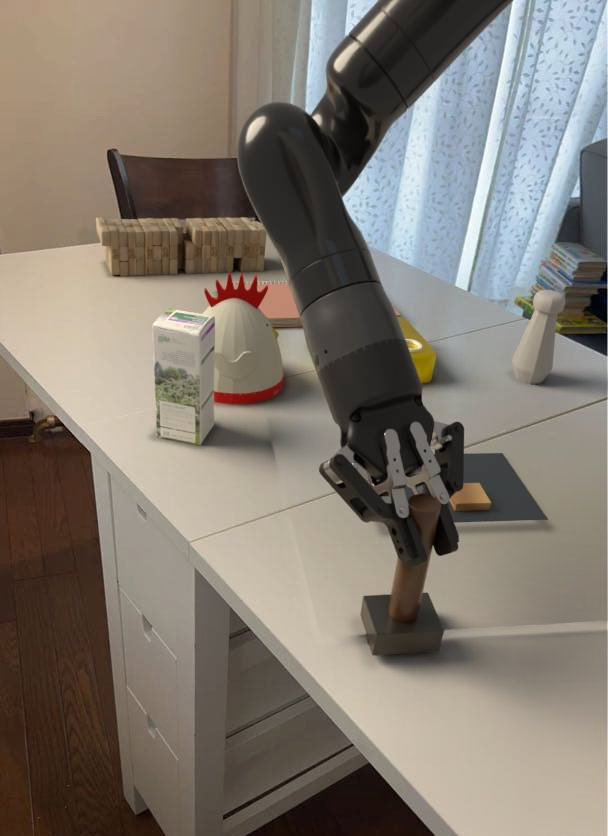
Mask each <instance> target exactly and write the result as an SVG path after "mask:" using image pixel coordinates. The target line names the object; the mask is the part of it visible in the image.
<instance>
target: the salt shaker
mask: <svg viewBox="0 0 608 836" xmlns="http://www.w3.org/2000/svg"><path fill="white" fill-rule="evenodd" d="M532 306H533V309H534V312H533V314H532V316H531V317H530V320H529V322H528V324H527V327H526V329H525V331H524V333H523V335H522V337H521V339H520V342H519V344H518V345H517V348H516V350H515V353H514V354H513V357H512V359H511V360H512V361H511V364H512V368H513V369H512V370H513V375H514V376H515V378H516V379H517V381H520V382H523V383H526V384H529V385H533V384H542V382H544V380H545V379H546V377H547V376H549V374H550V373H551V372H552V370H553V367H554V354H555V343H556V342H555V341H556V329H557V322H558V321H557V319H558V314H561V313H562V312H563V310H564V309H565V306H566V297H565V295H564V293H562V292H559V291H556V290H553V289H541V290H539V291H538V292H536V293H535V294H534V297H533V300H532Z"/></svg>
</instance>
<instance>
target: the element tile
mask: <svg viewBox="0 0 608 836" xmlns="http://www.w3.org/2000/svg"><path fill="white" fill-rule="evenodd" d="M397 318H398V320H399V323H400V326H401V329H402V331H403V334H404V337H405V340H406V342H407V345H408V348H409V351H410V354H411V356H412V359H413V362H414V365H415V367H416V370H417V373H418V376H419V378H420V381H421V384H422V385H423V384H427V383H430V382H431V381H432V380H433V376H434V370H435V364H436V360H437V359H436V358H437V351H436V350H435V349H434V348H433V347H432V346H431V344H430V343H429V342H428V341H427V340H426V339H425V338H424V336H423V335H421V333H420V332H419V331H418V330H417V328H416V327H415V326H414V325H413V324H412V323H411V322H410V321H409V320H408V319H406V318H405V317H402V316H398V317H397Z"/></svg>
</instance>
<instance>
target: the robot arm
mask: <svg viewBox="0 0 608 836" xmlns="http://www.w3.org/2000/svg"><path fill="white" fill-rule="evenodd" d="M514 1H515V0H377V1H376V2H375V3H374V5H373V6H372V7H371V8H370V9H369V10H368V11H367V12H366V14H364V15H363V17H362V18H361V19H360V20H359V21H358V22H357V23H356V24H355V25H354V27H353V28H352V29H351V30H350V31H349V32H348V35H346V36H345V37H344V38H343V39H342V40H341V41H340V42H339V44H338V45H337V46H336V47H335V49H333V51H332V52H331V54H330V55H329V58H328V59H327V61H326V65H325V78H326V79H325V80H326V87H325V91H324V94H323V96H322V98H321V99H320V100H319V102H318V103H317V105H316V106H315V107H314V109H313V111H312V112H311V113H308V111H306V110H305V109H304V108H301V107H300V106H297V105H296V104H293V103H291V102H284V101H274V102H268V103H264V104H263V105H261V106H259V107H258V108H256V109H255V110H253V112H251V114H249V115H248V117H247V118H246V120H245V121H244V123H243V125H242V127H241V129H240V132H239V135H238V139H237V144H236V161H237V167H238V172H239V176H240V179H241V182H242V185H243V188H244V191H245V193H246V195H247V198H248V199H249V202H250V204H251V206H252V208H253V209H254V212H255V214H256V216H257V218H258V220H259V222H260V223H261V225H262V226H263V228H264V230H265V232H266V233H267V234H266V236H267V238H268V239H269V241H270V243H271V244H272V245H271V246H272V247H273V248H274V250H275V252H276V254H277V256H278V258H279V260H280V262H281V265H282V267H283V270H284V274H285V278H286V281H287V282H288V285H289V287H290V290H291V293H292V296H293V299H294V302H295V304H296V307H297V310H298V313H299V316H300V318H301V321H302V325H303V326H302V329H303V334H304V339H305V342H306V346H307V350H308V352H309V355H310V358H311V362H312V364H313V367H314V368H315V372H316V375H317V378H318V380H319V384H320V386H321V389H322V392H323V395H324V398H325V401H326V403H327V406H328V409H329V411H330V415H331V418H332V420H333V422H334V423H335V424H336V425H337V426H338V427H339V429H340V430H339V431H340V438H339V439H340V440H339V442H340V443H339V445H340V448H339V450H338V451H337V452H335V454H334V455H332V457H330V458H329V459H327V460H325V461H323V462H322V463H321V464H320V465H319V466H318V472H319V474H320V476H321V477H322V478H323V479H324V480H325V481H326V482H327V483H328V484H329V486H330V487H331V488H332V490H334V491H335V493H336V494H337V495H338V496H339V498H341V499H342V501H344V503H345V504H346V505H347V506H348V507H349V508H350V509H351V511H353V513H354V514H355V515H356V516H357V517H358V518H359V519H360V520H361V522H363V523H371V522H374V523H382V524H383V525H385V527H386V528H387V531H388V533H389V536H390V539H391V542H392V545H393V547H394V550H395V552H396V556H397V558H399V559H400V560H401V562H405V564H406V566H407V567H409V568H410V567H414V566H417V565H420V564H423V563H426V562H427V560H428V557H427V554H426V551H425V548H424V545H423V543H422V540H421V537H420V534H419V531H418V529H417V526H416V523H415V520H414V518H413V517H410V518H408V515H409V506H408V502H407V498H406V493H405V486H406V485H407V486H408V487H410V488H412V490H413V492H414V494H415V495H416V494H427V495H431V496H433V497H435V498H437V499H438V500H439V501H440V503H441V510H440V514H439V519H438V524H437V528H436V533H435V538H434V542H433V547H432V548H433V549H434V551H435V552H434V553H435V554H436V555H437V556H439V557H442V556H445V555H449V554H452V553H454V552H457V551H458V550H459V544H458V543H459V542H460V535H459V532H458V529H457V526H456V523H454V521H453V518H452V515H451V513H450V510H449V507H448V502H449V499H450V498H451V497H452V496H453V495H454V494H455V493H456V492H458V491H461V490H462V488H463V474H464V454H465V427H464V425H463V424H462V423H461V422H460V421H454V422H451V423H450V424H447V423H444V422H440V421H435V419H434V417H433V415H432V413H431V412H430V411H429V410H428V409H427V408H426V407H425V404H424V402H423V390H424V387H423V384H421V381H420V378H419V376H418V373H417V370H416V367H415V365H414V362H413V359H412V356H411V354H410V351H409V348H408V345H407V342H406V340H405V337H404V334H403V331H402V329H401V326H400V323H399V320H398V318H397V315H396V313H395V310H394V308H395V307H394V305H393V304H392V302H391V300H390V298H389V296H388V295H387V293H386V290H385V288H384V286H383V284H382V281H381V278H380V276H379V272H378V269H377V267H376V263H375V261H374V259H373V256H372V253H371V251H370V248H369V245H368V243H367V240H366V238H365V237H364V235H363V233H362V232H361V231H362V230H361V229H360V228H359V227H358V225H357V223H356V222H355V221H354V219H353V218H352V217H351V215H350V214H349V211H348V210H347V207H346V204H345V202H344V199H343V198H344V197H345V196H346V194H347V193H348V192H349V191H350V189H351V188H352V186H353V185H354V184H355V183H356V181H358V178H359V177H360V175H361V174H362V173H363V171H364V170H365V168H366V167H367V165H368V164H369V162H370V161H371V159H372V158H373V156H374V155H375V153H376V152H377V150H378V149H379V147H380V145H381V144H382V142H383V140H384V138H385V137H386V135H387V134H388V132H389V130H390V129H391V127H392V126H393V125H394V124H395V123H396V122H397V121H398V120H399V119H400V118H401V117H402V116H403V115H405V114H406V113H407V110H409V109H411V107H412V106H413V105H414V104H415V103H416V102H417V101H418V100H419V99H420V98H421V97H422V96H424V94H425V93H426V92H427V91H428V89H429V88H431V87H432V85H434V83H435V82H437V80H438V79H440V77H441V76H442V75H443V74H444V73H445V72H446V71H447V70H448V69H449V68H450V66H452V64H454V62H455V61H457V59H458V58H459V57H460V56H461V55H462V54H463V53H464V52H465V51H466V50H467V48H469V47H470V46H471V44H472V43H474V41H476V39H477V38H478V37H480V35H481V34H482V33H483V32H484V31H485V30H486V29H487V28H488V27H489V26H490V25H491V24H492V23H493V22H494V21H495V20H496V19H497V18H498V17H499V16H500V15H501V14H502V13H503V12H504V11H505V9H507V8H508V7H509V6H510V5H511V4H512V3H513V2H514ZM393 307H394V308H393ZM432 449H433V450H434V452H433V450H432ZM434 454H435V456H434ZM359 467H360V468H361V469H362V470H364V471H365V474H366V479H367V480H366V479H365V477H364V476H363V475H362V474H361V473H360V472H359V469H358V468H359ZM421 467H422V472H418V471H417V469H419V468H421ZM385 480H387V481H385Z"/></svg>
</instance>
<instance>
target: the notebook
mask: <svg viewBox="0 0 608 836" xmlns="http://www.w3.org/2000/svg"><path fill="white" fill-rule="evenodd" d="M252 282H253V281H249V282H248V281H247V280H246V281H244V285H245V289H246V290H249V289H250V287H251V284H252ZM226 284H227V283H220V285H221V286H222V288H223V289H225V288H226ZM238 284H239V281H233V286H234V289H237V288H238ZM266 285H268V290H267V293H266V295H265V297H264V299H263V300H262V302H261V304H260V305H259V307H258V308H259V309H260V310H261V311H262V312H263V314H264V315H265V316H266V317H267V318H268V320H269V322H270V324H271V325H272V327H273V328H295V327H297V328H299V327H303V325H302V321H301V318H300V316H299V313H298V310H297V307H296V304H295V302H294V299H293V296H292V293H291V290H290V287H289V285H288V281H287V280H285V281H283V280H277V281H275V280H274V281H271V280H269V281H267V280H265V281H263V280H261V282H260V281H259V280H257V291H258V292H261V291H262V290H263V289H264V288H265V286H266ZM393 308H394V310H395V313H396V315H397V317H402V314H401V312H400V311H398V310H397V309H396V308H395V307H394V306H393Z"/></svg>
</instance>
